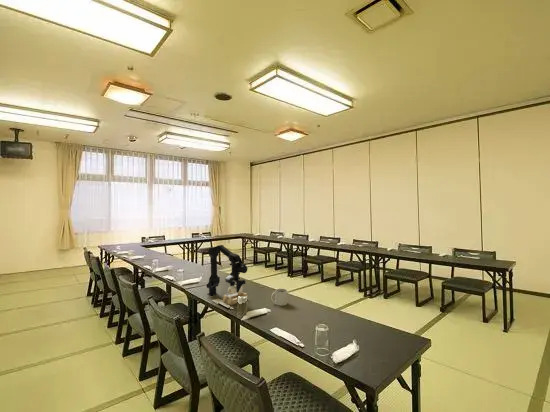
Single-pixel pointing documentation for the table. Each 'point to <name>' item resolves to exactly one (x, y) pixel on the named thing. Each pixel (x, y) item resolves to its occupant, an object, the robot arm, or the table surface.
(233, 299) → the holder
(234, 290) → the roll
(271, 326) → the table surface
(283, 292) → the mug
